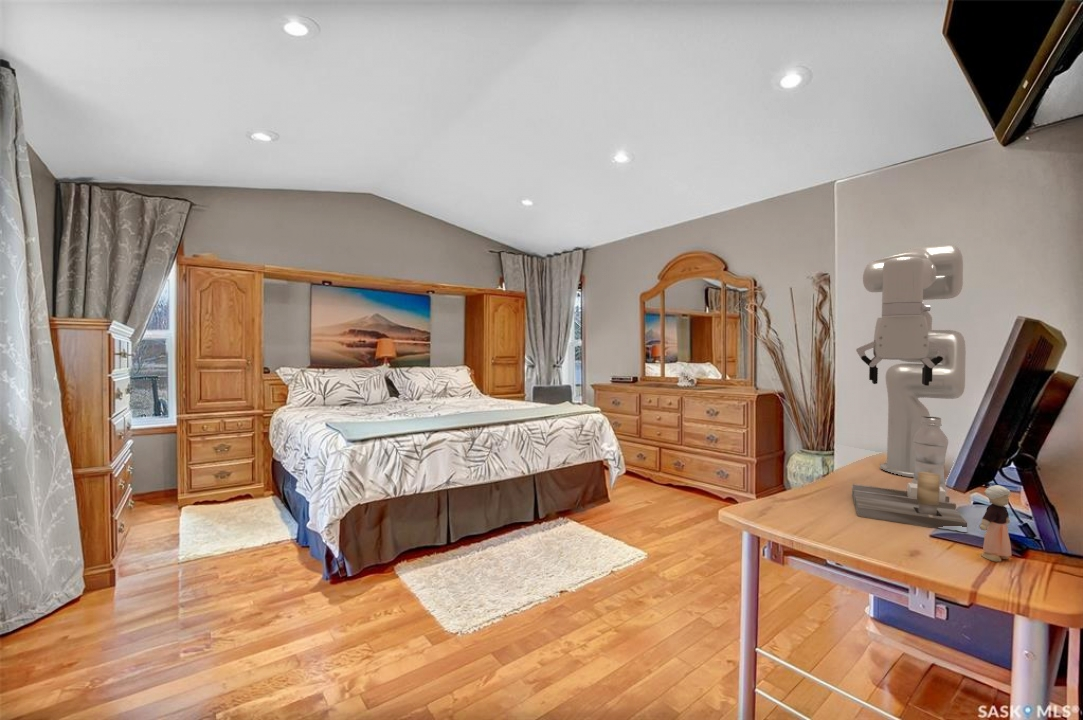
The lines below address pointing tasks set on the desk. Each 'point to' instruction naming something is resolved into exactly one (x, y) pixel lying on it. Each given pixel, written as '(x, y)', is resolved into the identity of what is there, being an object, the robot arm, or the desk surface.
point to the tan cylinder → (928, 493)
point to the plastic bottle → (930, 448)
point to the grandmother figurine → (996, 525)
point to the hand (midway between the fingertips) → (899, 384)
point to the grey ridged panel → (902, 508)
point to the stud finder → (913, 492)
